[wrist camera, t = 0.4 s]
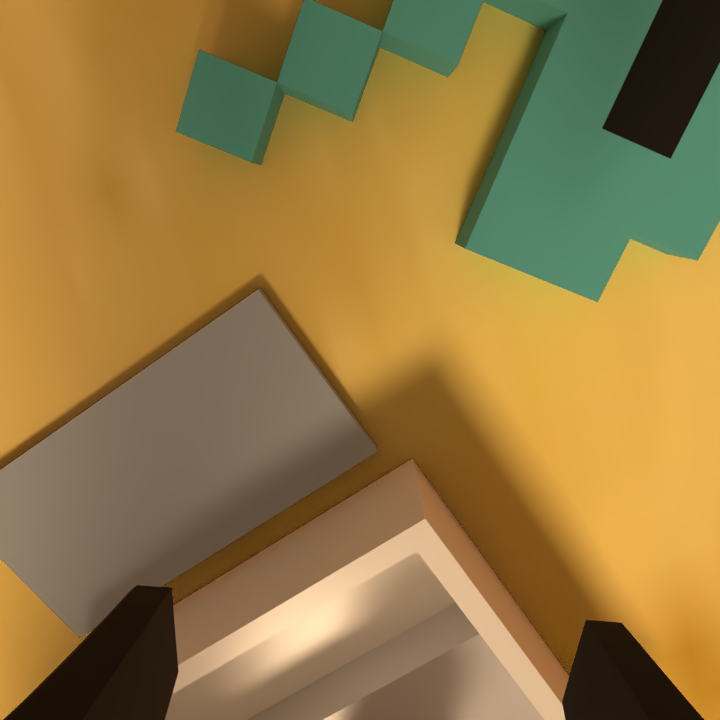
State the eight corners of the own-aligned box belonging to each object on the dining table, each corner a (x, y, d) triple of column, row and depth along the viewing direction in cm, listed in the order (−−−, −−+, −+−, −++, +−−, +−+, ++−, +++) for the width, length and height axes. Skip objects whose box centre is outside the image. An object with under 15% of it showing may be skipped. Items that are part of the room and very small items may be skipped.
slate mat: (84, 630, 23) (79, 637, 23) (-45, 500, 21) (-52, 506, 21) (377, 447, 21) (377, 451, 20) (259, 287, 19) (258, 289, 19)
